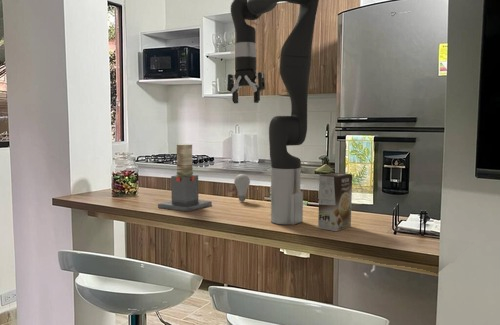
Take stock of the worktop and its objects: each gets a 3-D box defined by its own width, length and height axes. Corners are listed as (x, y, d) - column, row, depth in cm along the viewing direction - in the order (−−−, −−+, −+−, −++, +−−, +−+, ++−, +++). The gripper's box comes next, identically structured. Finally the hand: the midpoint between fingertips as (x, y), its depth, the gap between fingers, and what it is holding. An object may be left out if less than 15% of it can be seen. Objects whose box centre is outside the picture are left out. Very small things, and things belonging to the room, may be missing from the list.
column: (193, 186, 167) (192, 144, 166) (185, 187, 164) (185, 145, 162) (184, 185, 169) (183, 144, 168) (176, 186, 166) (176, 144, 164)
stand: (211, 205, 170) (211, 174, 168) (188, 211, 158) (187, 179, 157) (182, 201, 177) (182, 172, 176) (158, 207, 165) (157, 176, 164)
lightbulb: (241, 203, 172) (241, 175, 171) (231, 201, 177) (231, 173, 176) (253, 201, 176) (253, 174, 175) (243, 199, 181) (242, 172, 180)
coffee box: (336, 232, 130) (337, 176, 128) (317, 228, 134) (318, 174, 132) (351, 226, 137) (352, 173, 135) (332, 223, 141) (333, 172, 139)
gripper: (268, 56, 159) (268, 103, 160) (234, 59, 166) (234, 103, 167) (257, 53, 152) (257, 102, 154) (223, 57, 159) (223, 103, 161)
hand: (245, 103), depth 160 cm, fingers open, 8 cm apart
